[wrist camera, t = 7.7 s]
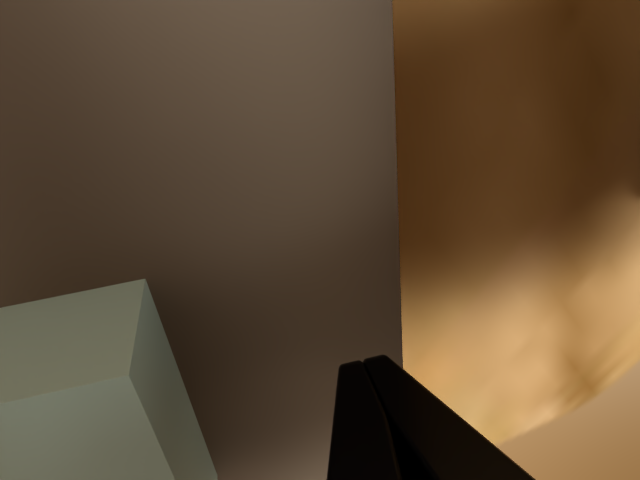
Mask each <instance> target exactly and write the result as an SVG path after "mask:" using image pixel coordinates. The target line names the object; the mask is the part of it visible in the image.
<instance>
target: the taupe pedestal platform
mask: <svg viewBox="0 0 640 480" xmlns="http://www.w3.org/2000/svg"><path fill="white" fill-rule="evenodd" d="M141 279H146V282H147V284H148V287H149V290H150V293H151V295H152V298H153V301H154V304H155V306H156V309H157V312H158V314H159V317H160V320H161V323H162V325H163V328H164V331H165V334H166V336H167V339H168V342H169V345H170V347H171V350H172V353H173V355H174V358H175V361H176V364H177V366H178V369H179V372H180V375H181V377H182V380H183V383H184V386H185V388H186V391H187V394H188V396H189V399H190V402H191V405H192V407H193V410H194V413H195V416H196V418H197V421H198V424H199V427H200V429H201V432H202V435H203V437H204V440H205V443H206V446H207V448H208V451H209V454H210V457H211V459H212V462H213V465H214V468H215V470H216V473H217V480H327V471H328V462H329V452H330V443H331V434H332V424H333V415H334V406H335V396H336V387H337V378H338V369H339V366H340V365H341V364H344V363H348V362H352V361H357V360H360V361H362V362H363V360H364V359H366V358H369V357H374V356H378V355H386V356H388V357H389V358H390V359H392V360H393V361H394V362H395V363H396V364H398V365H399V366H400V367H401V368H402V369H403V358H402V324H401V289H400V255H399V220H398V186H397V151H396V117H395V82H394V48H393V13H392V0H0V308H2V307H7V306H12V305H17V304H22V303H27V302H32V301H37V300H42V299H47V298H51V297H56V296H61V295H66V294H71V293H76V292H81V291H86V290H91V289H96V288H101V287H106V286H111V285H116V284H121V283H126V282H131V281H136V280H141Z"/></svg>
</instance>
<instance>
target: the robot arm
mask: <svg viewBox="0 0 640 480" xmlns="http://www.w3.org/2000/svg"><path fill="white" fill-rule="evenodd" d="M327 480H535V479H534V478H533V477H532V476H531V475H529V474H528V473H527V472H526V471H525V470H523V469H522V468H521V467H520V466H519V465H517V464H516V463H515V462H514V461H513V460H511V459H510V458H509V457H508V456H507V455H505V454H504V453H503V452H502V451H501V450H499V449H498V448H497V447H496V446H495V445H493V444H492V443H491V442H490V441H489V440H487V439H486V438H485V437H484V436H483V435H481V434H480V433H479V432H478V431H477V430H476V429H474V428H473V427H472V426H471V425H470V424H468V423H467V422H466V421H465V420H464V419H462V418H461V417H460V416H459V415H458V414H456V413H455V412H454V411H453V410H452V409H450V408H449V407H448V406H447V405H446V404H444V403H443V402H442V401H441V400H440V399H438V398H437V397H436V396H435V395H434V394H432V393H431V392H430V391H429V390H428V389H426V388H425V387H424V386H423V385H422V384H420V383H419V382H418V381H417V380H416V379H414V378H413V377H412V376H411V375H410V374H408V373H407V372H406V371H405V370H404V369H402V368H401V367H400V366H399V365H398V364H396V363H395V362H394V361H393V360H392V359H390V358H389V357H388V356H386V355H378V356H374V357H369V358H366V359H364V360H363V362H362V361H360V360H357V361H352V362H348V363H344V364H341V365H340V366H339V369H338V378H337V387H336V396H335V406H334V415H333V424H332V434H331V443H330V452H329V462H328V471H327Z"/></svg>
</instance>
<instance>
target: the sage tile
mask: <svg viewBox="0 0 640 480" xmlns="http://www.w3.org/2000/svg"><path fill="white" fill-rule="evenodd" d="M0 480H217V473H216V470H215V468H214V465H213V462H212V459H211V457H210V454H209V451H208V448H207V446H206V443H205V440H204V437H203V435H202V432H201V429H200V427H199V424H198V421H197V418H196V416H195V413H194V410H193V407H192V405H191V402H190V399H189V396H188V394H187V391H186V388H185V386H184V383H183V380H182V377H181V375H180V372H179V369H178V366H177V364H176V361H175V358H174V355H173V353H172V350H171V347H170V345H169V342H168V339H167V336H166V334H165V331H164V328H163V325H162V323H161V320H160V317H159V314H158V312H157V309H156V306H155V304H154V301H153V298H152V295H151V293H150V290H149V287H148V284H147V282H146V279H141V280H136V281H131V282H126V283H121V284H116V285H111V286H106V287H101V288H96V289H91V290H86V291H81V292H76V293H71V294H66V295H61V296H56V297H51V298H47V299H42V300H37V301H32V302H27V303H22V304H17V305H12V306H7V307H2V308H0Z"/></svg>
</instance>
